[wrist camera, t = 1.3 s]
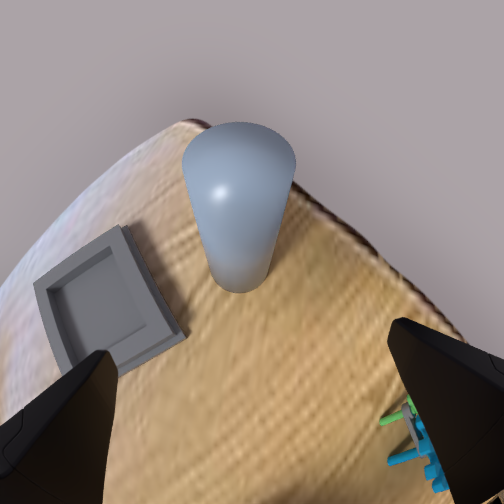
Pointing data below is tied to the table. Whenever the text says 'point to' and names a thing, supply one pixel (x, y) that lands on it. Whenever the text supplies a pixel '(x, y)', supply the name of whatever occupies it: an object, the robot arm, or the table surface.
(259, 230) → the blue-grey rounded knob
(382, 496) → the table surface
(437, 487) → the gear
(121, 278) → the grey square recessed dock
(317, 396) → the table surface
